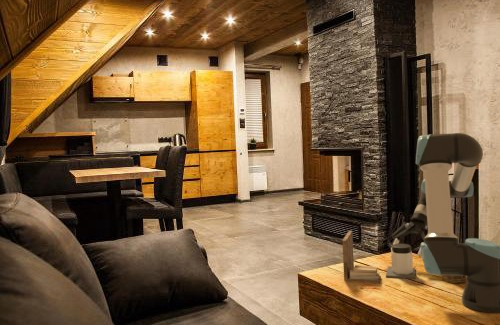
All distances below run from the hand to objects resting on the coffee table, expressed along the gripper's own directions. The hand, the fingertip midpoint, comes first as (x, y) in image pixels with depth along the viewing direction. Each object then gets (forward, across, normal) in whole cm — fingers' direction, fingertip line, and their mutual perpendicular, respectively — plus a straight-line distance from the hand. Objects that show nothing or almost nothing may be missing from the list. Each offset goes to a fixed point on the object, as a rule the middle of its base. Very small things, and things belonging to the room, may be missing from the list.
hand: (405, 253), depth 197 cm
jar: (+9, -1, -2) cm, 9 cm away
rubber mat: (+9, 0, -2) cm, 9 cm away
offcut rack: (+18, +10, +7) cm, 22 cm away
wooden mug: (+5, -24, -6) cm, 25 cm away
